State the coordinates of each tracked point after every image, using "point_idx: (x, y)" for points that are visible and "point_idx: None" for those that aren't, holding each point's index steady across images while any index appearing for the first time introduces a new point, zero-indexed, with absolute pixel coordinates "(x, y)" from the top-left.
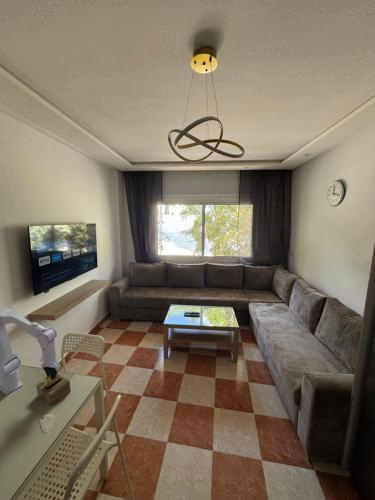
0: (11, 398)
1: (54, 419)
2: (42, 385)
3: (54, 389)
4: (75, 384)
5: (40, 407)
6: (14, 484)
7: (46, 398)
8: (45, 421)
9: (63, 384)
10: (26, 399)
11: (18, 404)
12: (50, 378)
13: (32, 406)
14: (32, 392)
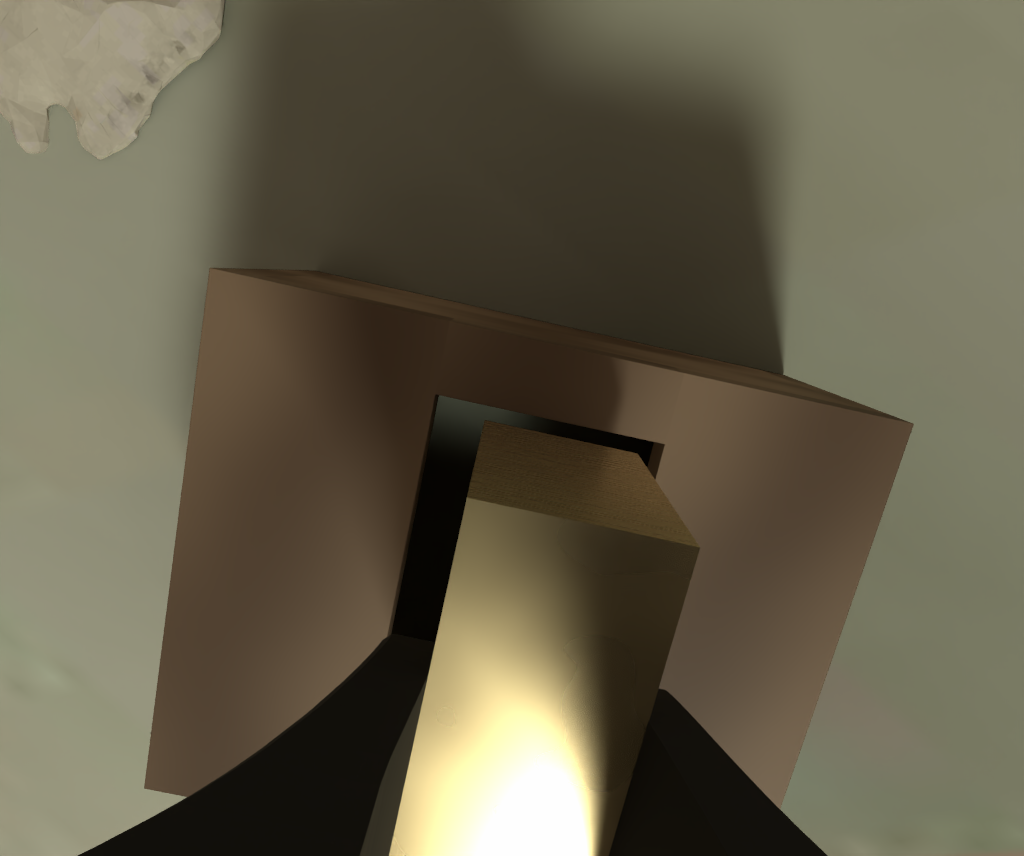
0: None
1: None
2: (730, 468)
3: (266, 456)
4: None
5: (477, 170)
6: None
7: (454, 308)
8: None
9: (194, 662)
10: (927, 231)
11: (983, 81)
12: (435, 654)
13: (653, 136)
14: (957, 402)
